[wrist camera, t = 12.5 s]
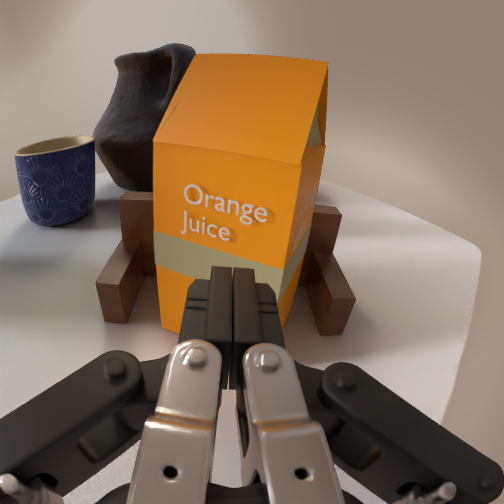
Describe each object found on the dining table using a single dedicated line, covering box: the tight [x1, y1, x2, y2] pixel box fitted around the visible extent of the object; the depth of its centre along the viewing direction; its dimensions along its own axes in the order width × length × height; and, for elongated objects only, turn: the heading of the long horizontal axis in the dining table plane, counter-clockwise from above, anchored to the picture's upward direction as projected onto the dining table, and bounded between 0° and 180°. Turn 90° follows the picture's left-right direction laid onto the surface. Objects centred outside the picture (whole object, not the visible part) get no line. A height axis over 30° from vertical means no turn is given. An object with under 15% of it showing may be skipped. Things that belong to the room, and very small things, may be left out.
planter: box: [15, 135, 95, 226], centre depth 36 cm, size 12×12×11 cm
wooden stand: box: [96, 192, 356, 335], centre depth 25 cm, size 9×20×8 cm, turn 93°
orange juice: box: [153, 54, 328, 334], centre depth 20 cm, size 8×9×20 cm
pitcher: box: [93, 43, 196, 191], centre depth 46 cm, size 21×22×25 cm
